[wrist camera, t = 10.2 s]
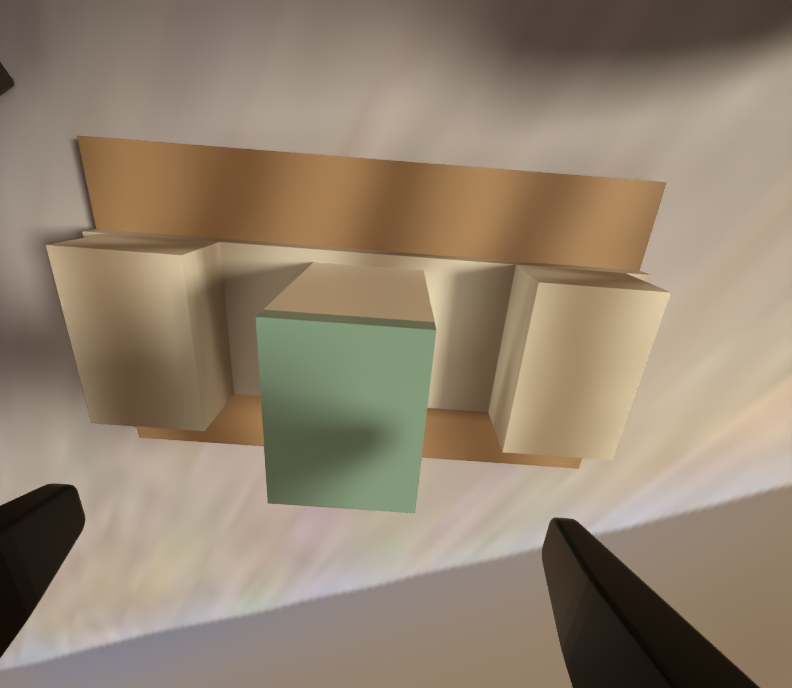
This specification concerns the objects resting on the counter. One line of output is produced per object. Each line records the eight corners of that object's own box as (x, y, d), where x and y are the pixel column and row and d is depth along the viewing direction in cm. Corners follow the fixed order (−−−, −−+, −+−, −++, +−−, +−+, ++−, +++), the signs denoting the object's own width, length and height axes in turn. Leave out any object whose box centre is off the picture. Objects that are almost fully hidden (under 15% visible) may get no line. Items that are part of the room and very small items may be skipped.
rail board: (651, 182, 17) (741, 183, 12) (571, 456, 22) (613, 526, 18) (95, 138, 16) (-19, 123, 12) (150, 426, 22) (85, 489, 17)
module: (423, 270, 16) (436, 329, 10) (411, 397, 19) (414, 513, 12) (313, 261, 16) (255, 316, 10) (314, 390, 19) (268, 503, 12)
